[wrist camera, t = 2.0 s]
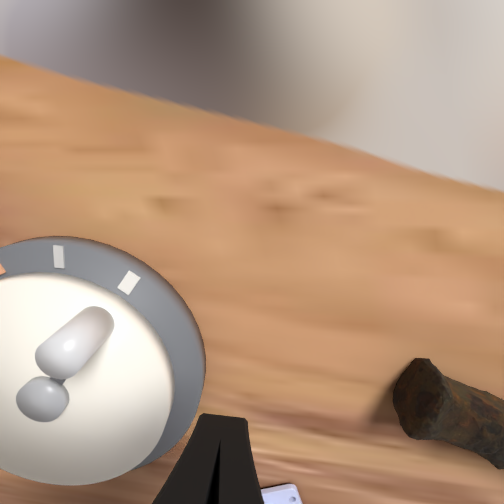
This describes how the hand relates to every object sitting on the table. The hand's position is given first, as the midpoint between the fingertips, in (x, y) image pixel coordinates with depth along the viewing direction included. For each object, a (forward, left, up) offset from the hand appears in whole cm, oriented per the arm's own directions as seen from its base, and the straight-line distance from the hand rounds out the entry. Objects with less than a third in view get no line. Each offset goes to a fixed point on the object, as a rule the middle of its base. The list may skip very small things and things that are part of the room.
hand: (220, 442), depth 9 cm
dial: (-1, +11, -8) cm, 13 cm away
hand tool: (-13, -16, -10) cm, 23 cm away
